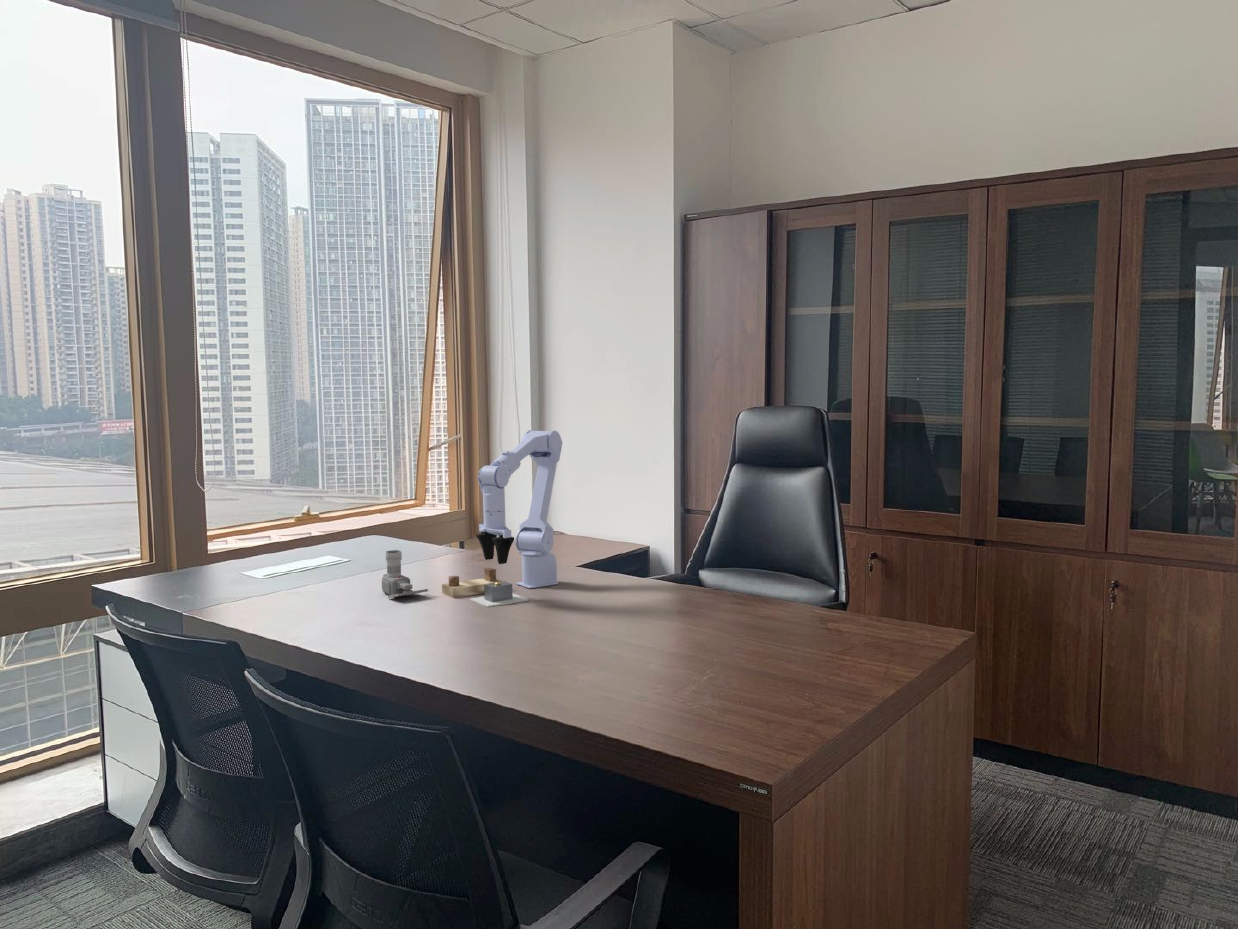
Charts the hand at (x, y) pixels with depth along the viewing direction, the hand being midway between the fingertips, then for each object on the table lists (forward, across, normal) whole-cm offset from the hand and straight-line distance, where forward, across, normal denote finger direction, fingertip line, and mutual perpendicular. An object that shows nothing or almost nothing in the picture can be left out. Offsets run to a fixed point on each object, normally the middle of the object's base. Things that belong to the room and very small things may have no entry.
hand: (495, 561), depth 248 cm
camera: (+10, -19, -19) cm, 29 cm away
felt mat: (+10, +3, -1) cm, 10 cm away
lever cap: (+10, +3, -1) cm, 10 cm away
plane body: (+10, -11, -1) cm, 15 cm away
